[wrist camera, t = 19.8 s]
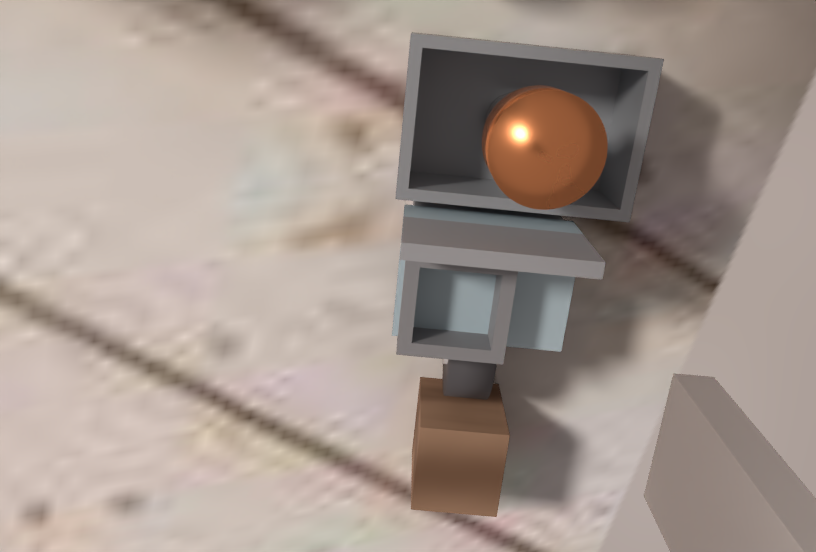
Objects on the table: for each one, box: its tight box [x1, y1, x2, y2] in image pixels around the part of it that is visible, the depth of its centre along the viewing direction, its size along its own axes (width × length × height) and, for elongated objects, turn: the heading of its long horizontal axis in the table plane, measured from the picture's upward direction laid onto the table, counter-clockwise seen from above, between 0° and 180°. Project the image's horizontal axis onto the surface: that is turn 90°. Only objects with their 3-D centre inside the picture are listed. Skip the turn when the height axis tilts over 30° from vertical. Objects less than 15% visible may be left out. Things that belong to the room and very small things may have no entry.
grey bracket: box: [392, 201, 606, 400], centre depth 37 cm, size 11×9×10 cm
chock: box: [411, 377, 510, 517], centre depth 43 cm, size 6×5×6 cm
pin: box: [482, 85, 608, 210], centre depth 33 cm, size 5×5×11 cm
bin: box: [396, 32, 664, 222], centre depth 37 cm, size 8×12×5 cm, turn 84°
